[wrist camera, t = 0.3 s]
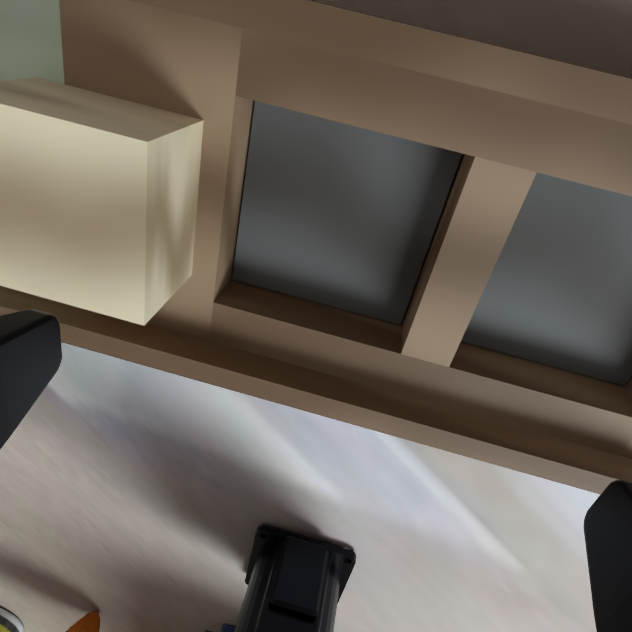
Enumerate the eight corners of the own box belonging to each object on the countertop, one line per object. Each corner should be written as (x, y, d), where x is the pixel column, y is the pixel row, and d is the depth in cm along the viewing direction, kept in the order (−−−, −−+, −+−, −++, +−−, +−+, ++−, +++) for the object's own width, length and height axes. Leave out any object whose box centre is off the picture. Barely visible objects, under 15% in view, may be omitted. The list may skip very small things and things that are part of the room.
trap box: (609, 436, 23) (672, 564, 17) (-58, 251, 24) (-199, 314, 19) (837, 131, 15) (1078, 184, 10) (-140, -107, 17) (-412, -178, 11)
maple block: (191, 275, 19) (144, 325, 16) (52, 237, 20) (-24, 279, 16) (203, 120, 16) (147, 141, 13) (37, 77, 16) (-62, 87, 13)
